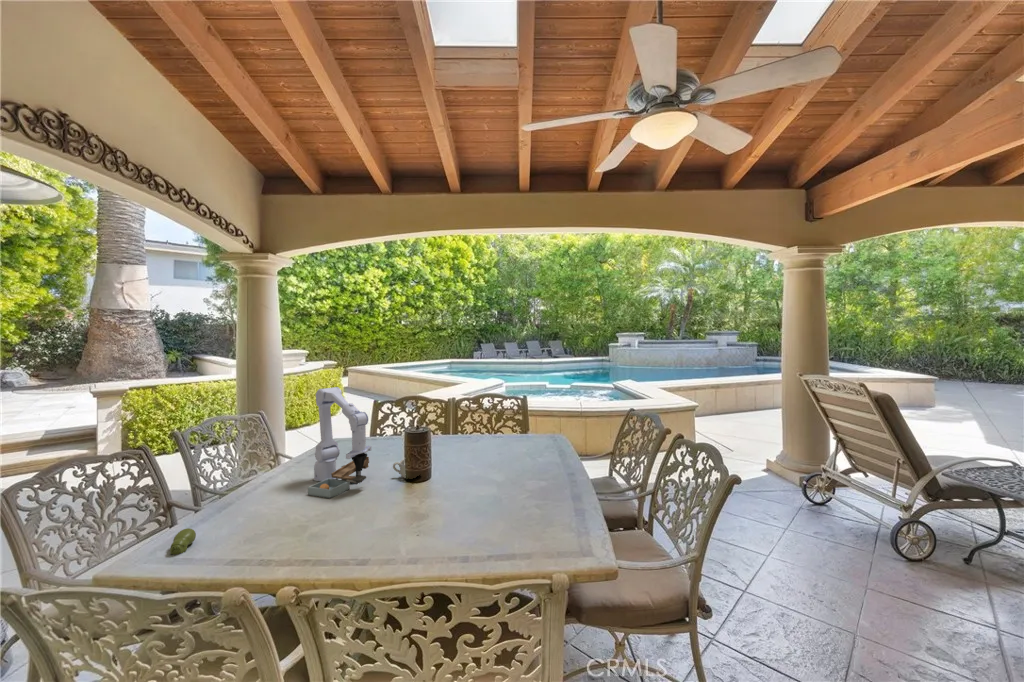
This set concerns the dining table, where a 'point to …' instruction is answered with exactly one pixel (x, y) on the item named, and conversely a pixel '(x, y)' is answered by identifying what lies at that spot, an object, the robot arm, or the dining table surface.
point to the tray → (334, 488)
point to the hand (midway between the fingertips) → (359, 470)
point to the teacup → (402, 467)
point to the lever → (350, 471)
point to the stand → (356, 476)
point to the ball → (324, 486)
